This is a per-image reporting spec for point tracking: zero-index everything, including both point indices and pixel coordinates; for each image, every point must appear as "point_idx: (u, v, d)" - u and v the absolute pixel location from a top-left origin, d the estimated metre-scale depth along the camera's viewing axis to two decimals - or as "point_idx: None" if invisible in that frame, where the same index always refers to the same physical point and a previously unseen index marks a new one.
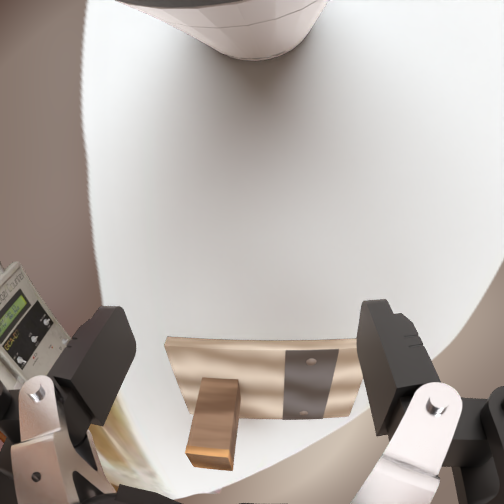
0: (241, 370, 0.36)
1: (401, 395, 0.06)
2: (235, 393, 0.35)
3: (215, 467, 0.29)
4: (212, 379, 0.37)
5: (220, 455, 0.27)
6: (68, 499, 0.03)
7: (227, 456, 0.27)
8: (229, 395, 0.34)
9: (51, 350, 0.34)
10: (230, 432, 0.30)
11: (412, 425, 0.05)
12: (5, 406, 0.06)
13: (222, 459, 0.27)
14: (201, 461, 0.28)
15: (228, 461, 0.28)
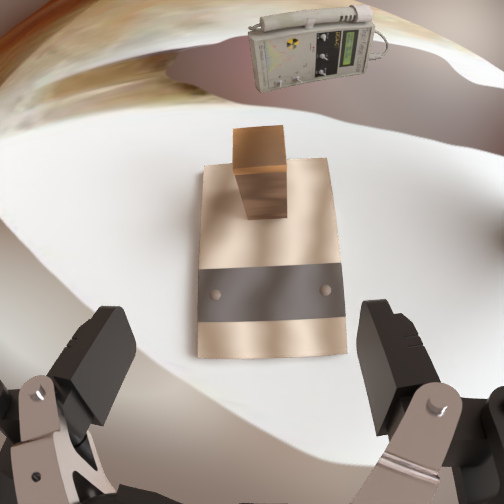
0: (304, 222, 0.36)
1: (401, 395, 0.06)
2: None
3: (241, 150, 0.27)
4: None
5: (285, 158, 0.26)
6: (68, 499, 0.03)
7: None
8: None
9: (302, 64, 0.41)
10: (286, 183, 0.29)
11: (412, 425, 0.05)
12: (5, 406, 0.06)
13: (278, 159, 0.26)
14: (260, 137, 0.27)
15: (271, 165, 0.26)
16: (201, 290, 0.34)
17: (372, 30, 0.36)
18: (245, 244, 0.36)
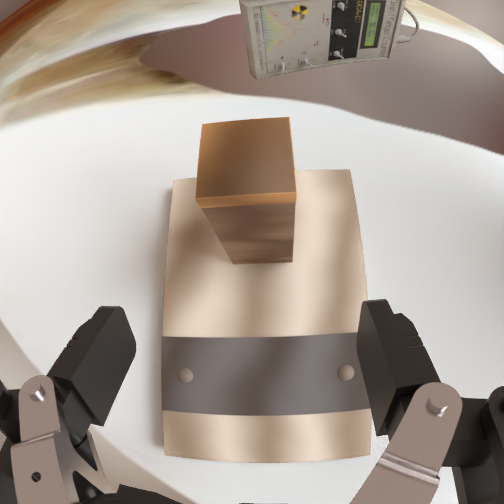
0: (317, 268, 0.24)
1: (401, 395, 0.06)
2: (292, 251, 0.22)
3: (212, 163, 0.15)
4: None
5: None
6: (68, 499, 0.03)
7: None
8: None
9: (313, 42, 0.29)
10: None
11: (412, 425, 0.05)
12: (5, 406, 0.06)
13: (280, 180, 0.14)
14: (249, 139, 0.15)
15: (267, 191, 0.14)
16: (166, 367, 0.22)
17: (402, 3, 0.24)
18: (229, 302, 0.24)
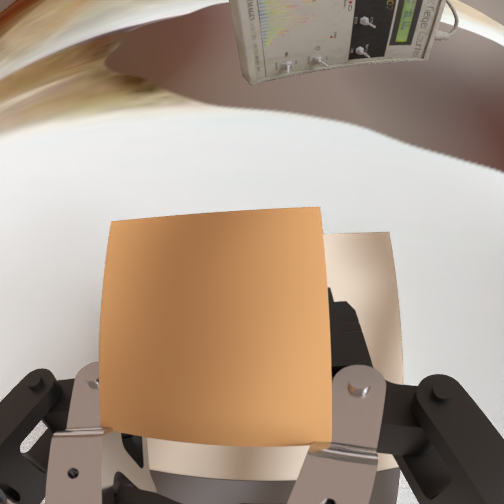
0: None
1: None
2: None
3: (129, 344, 0.06)
4: None
5: (327, 400, 0.05)
6: None
7: (328, 437, 0.05)
8: None
9: (329, 33, 0.20)
10: None
11: None
12: (56, 397, 0.06)
13: (294, 414, 0.05)
14: (215, 279, 0.06)
15: (259, 440, 0.05)
16: None
17: None
18: None
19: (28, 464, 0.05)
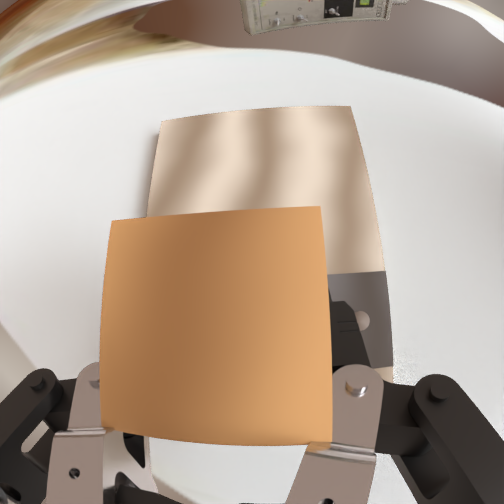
0: (320, 200, 0.20)
1: None
2: None
3: (129, 343, 0.06)
4: None
5: (328, 399, 0.05)
6: None
7: (329, 436, 0.05)
8: None
9: None
10: None
11: None
12: (57, 397, 0.06)
13: (295, 412, 0.05)
14: (216, 278, 0.06)
15: (260, 440, 0.05)
16: None
17: None
18: None
19: (29, 464, 0.05)
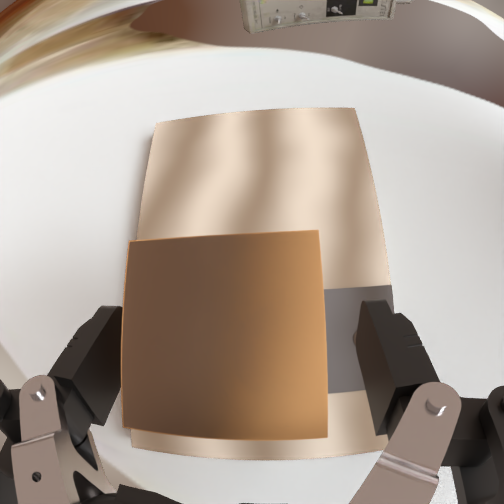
0: (322, 209, 0.19)
1: (400, 395, 0.06)
2: None
3: (149, 352, 0.07)
4: None
5: (324, 400, 0.06)
6: (68, 499, 0.03)
7: (325, 432, 0.06)
8: None
9: None
10: None
11: (411, 425, 0.05)
12: (6, 406, 0.06)
13: (295, 411, 0.06)
14: (226, 294, 0.07)
15: (265, 435, 0.06)
16: None
17: None
18: None
19: None
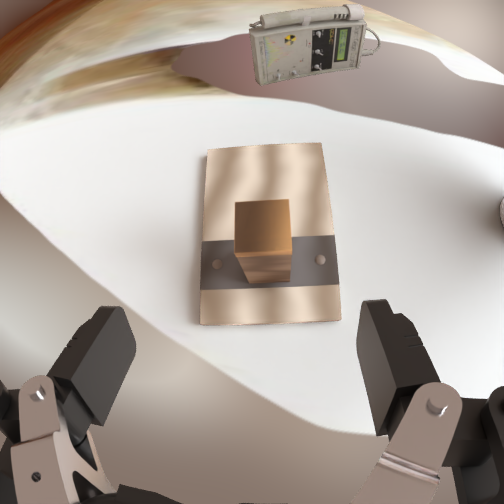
0: (300, 198, 0.39)
1: (401, 395, 0.06)
2: None
3: (243, 230, 0.26)
4: None
5: None
6: (68, 499, 0.03)
7: (291, 250, 0.25)
8: None
9: (299, 59, 0.44)
10: (290, 261, 0.28)
11: (412, 425, 0.05)
12: (5, 406, 0.06)
13: (283, 243, 0.25)
14: (264, 215, 0.26)
15: (275, 250, 0.25)
16: (204, 260, 0.37)
17: (364, 27, 0.39)
18: None
19: None
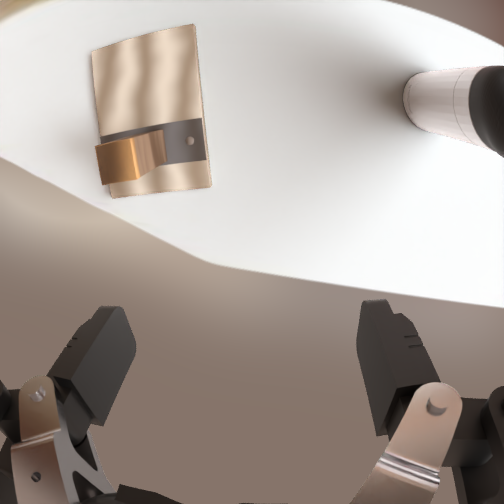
0: (171, 86, 0.37)
1: (401, 395, 0.06)
2: (162, 163, 0.40)
3: (104, 168, 0.31)
4: (163, 139, 0.40)
5: (135, 171, 0.32)
6: (68, 499, 0.03)
7: (137, 178, 0.32)
8: (160, 158, 0.39)
9: None
10: (146, 172, 0.35)
11: (412, 425, 0.05)
12: (5, 406, 0.06)
13: (130, 174, 0.32)
14: (115, 154, 0.31)
15: (126, 180, 0.32)
16: None
17: None
18: (128, 111, 0.39)
19: None
